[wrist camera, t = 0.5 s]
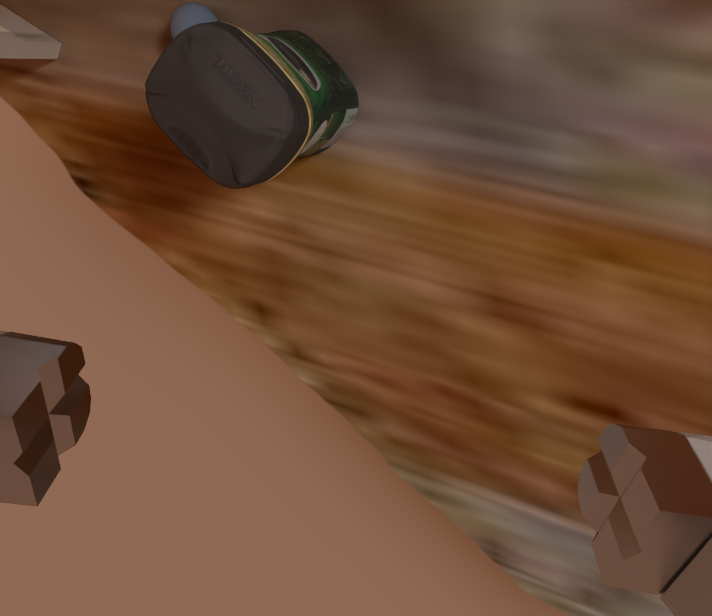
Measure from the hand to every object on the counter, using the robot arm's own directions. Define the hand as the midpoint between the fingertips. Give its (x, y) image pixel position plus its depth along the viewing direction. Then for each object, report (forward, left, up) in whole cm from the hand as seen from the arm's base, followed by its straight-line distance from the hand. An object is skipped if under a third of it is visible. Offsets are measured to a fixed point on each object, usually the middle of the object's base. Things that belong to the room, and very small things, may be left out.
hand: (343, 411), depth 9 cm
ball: (+5, -23, -40) cm, 47 cm away
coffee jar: (+5, -13, -43) cm, 45 cm away
